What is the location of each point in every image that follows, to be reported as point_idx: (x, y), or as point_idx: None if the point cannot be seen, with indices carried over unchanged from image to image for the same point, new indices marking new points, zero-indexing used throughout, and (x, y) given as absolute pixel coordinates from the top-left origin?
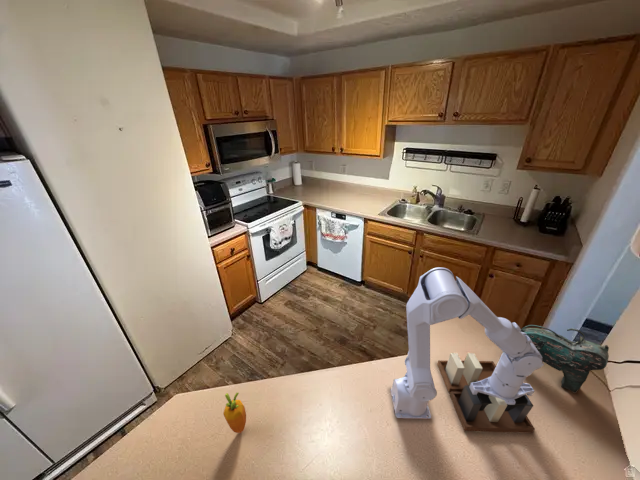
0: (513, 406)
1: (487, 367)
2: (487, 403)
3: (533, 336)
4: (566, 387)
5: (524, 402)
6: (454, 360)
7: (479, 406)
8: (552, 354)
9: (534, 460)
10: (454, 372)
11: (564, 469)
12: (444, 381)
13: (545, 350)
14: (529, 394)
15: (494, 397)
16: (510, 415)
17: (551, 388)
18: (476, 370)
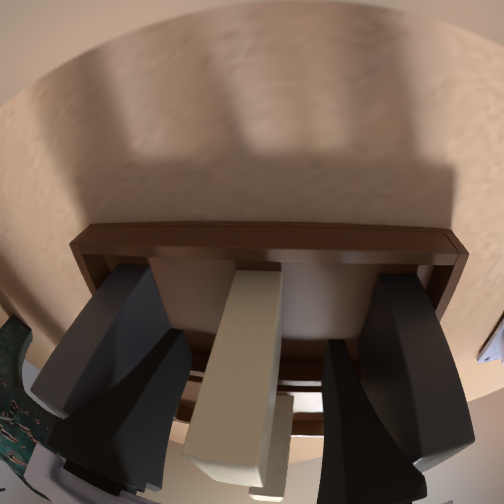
0: (133, 390)
1: (193, 406)
2: (396, 498)
3: None
4: (22, 329)
5: (61, 454)
6: None
7: (430, 430)
8: (25, 442)
9: (117, 95)
10: None
11: (32, 99)
12: None
13: None
14: (44, 459)
15: (262, 469)
16: (157, 293)
17: (45, 332)
18: (276, 482)
